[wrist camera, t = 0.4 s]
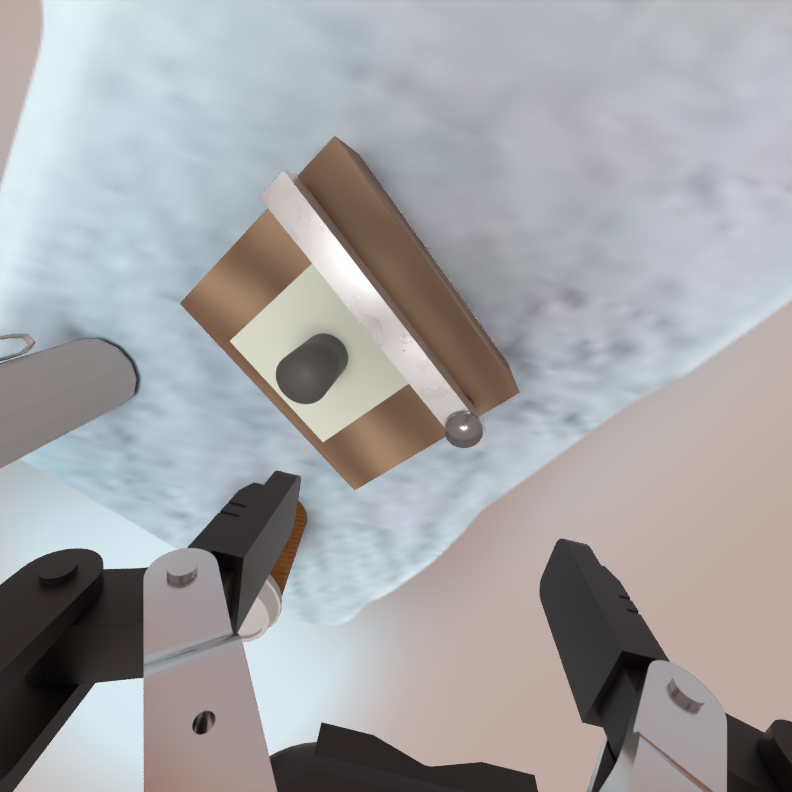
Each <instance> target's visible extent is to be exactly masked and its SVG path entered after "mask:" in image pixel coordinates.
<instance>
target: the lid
mask: <svg viewBox="0 0 792 792" xmlns="http://www.w3.org/2000/svg"><path fill="white" fill-rule="evenodd" d="M230 342H231V343H232V344H233V345H234V346H235V347H236V349H237V350H238V351H239V352H240V353H241V354H242V355H243V356H244V357H245V358H246V359H247V361H248V362H249V363H250V364H251V365H252V366H253V367H254V368H255V369H256V370H257V371H258V372H259V374H260V375H261V376H262V377H263V378H264V379H265V380H266V381H267V382H268V383H269V384H270V385H271V387H272V388H273V389H274V390H275V391H276V392H277V393H278V394H279V395H280V396H281V397H282V398H283V400H284V401H285V402H286V403H287V404H288V405H289V406H290V407H291V408H292V409H293V410H294V411H295V413H296V414H297V415H298V416H299V417H300V418H301V419H302V420H303V421H304V422H305V423H306V424H307V426H308V427H309V428H310V429H311V430H312V431H313V432H314V433H315V434H316V435H317V436H318V437H319V439H320V440H321V441H322V442H324V441H326V440H327V439H329V438H330V437H332V436H333V435H335V434H336V433H337V432H339V431H340V430H342V429H343V428H345V427H346V426H348V425H349V424H351V423H352V422H354V421H355V420H356V419H358V418H359V417H361V416H362V415H364V414H365V413H367V412H368V411H370V410H371V409H373V408H374V407H376V406H377V405H378V404H380V403H381V402H383V401H384V400H386V399H387V398H389V397H390V396H392V395H393V394H395V393H396V392H397V391H399V390H400V389H402V388H403V387H405V386H406V385H408V384H409V383H408V382H407V380H406V379H405V378H404V377H403V375H402V374H401V373H400V372H399V370H398V369H397V368H396V367H395V366H394V364H393V363H392V362H391V361H390V359H389V358H388V357H387V356H386V354H385V353H384V352H383V351H382V349H381V348H380V347H379V346H378V344H377V343H376V342H375V341H374V339H373V338H372V337H371V336H370V334H369V333H368V332H367V331H366V330H365V328H364V327H363V326H362V325H361V323H360V322H359V321H358V320H357V318H356V317H355V316H354V315H353V313H352V312H351V311H350V310H349V308H348V307H347V306H346V305H345V303H344V302H343V301H342V300H341V298H340V297H339V296H338V295H337V293H336V292H335V291H334V290H333V289H332V287H331V286H330V285H329V284H328V282H327V281H326V280H325V279H324V277H323V276H322V275H321V274H320V272H319V271H318V270H317V269H316V267H315V266H314V265H313V264H311V265H310V266H309V267H308V268H307V269H306V270H305V271H304V272H303V273H302V274H301V275H299V276H298V277H297V278H296V279H295V280H294V281H293V282H292V283H291V284H290V285H289V286H288V287H287V288H286V289H285V290H283V291H282V292H281V293H280V294H279V295H278V296H277V297H276V298H275V299H274V300H273V301H272V302H271V303H270V304H269V305H268V306H266V307H265V308H264V309H263V310H262V311H261V312H260V313H259V314H258V315H257V316H256V317H255V318H254V319H253V320H252V321H250V322H249V323H248V324H247V325H246V326H245V327H244V328H243V329H242V330H241V331H240V332H239V333H238V334H237V335H236V336H235V337H233V338H232V339H231V340H230Z"/></svg>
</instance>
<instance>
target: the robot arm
mask: <svg viewBox="0 0 792 792" xmlns="http://www.w3.org/2000/svg"><path fill="white" fill-rule="evenodd" d="M300 483H301V477H300V476H298V475H293V474H289V473H285V472H281V471H275V472H274V473H273V474H272V476H271V477H270V478H269V479H268V481H267V482H266V483H265V484H264V485H262V484H258V483H252V484H250V485H249V486H247V487H245V488H243V489H241V490H239V491H238V492H237V493H236V494H235V495H234V496H233V498H232V499H231V500H230V501H229V503H228V504H226V505H225V506H224V508H223V509H222V510H221V512H220V513H218V514H217V515H216V516H215V518H214V519H213V520H212V521H211V522H210V523H209V524H208V525H207V526H206V528H205V529H204V530H203V531H202V532H201V533H200V534H199V535H198V536H197V538H196V539H195V540H194V541H193V542H192V543H191V544H190V545H189V546H188V548H184V549H179V550H175V551H172V552H169V553H167V554H165V555H163V556H161V557H160V558H158V559H157V560H155V561H154V562H153V563H152V564H151V565H150V566H149V567H147V568H136V569H103V560H102V558H101V556H100V555H99V554H98V553H96V552H94V551H92V550H88V549H66V550H61V551H57V552H53V553H50V554H47V555H44V556H42V557H40V558H38V559H36V560H34V561H32V562H30V563H29V564H27V565H26V566H24V567H23V568H21V569H20V570H19V571H18V572H16V573H15V574H14V575H12V576H11V577H10V578H8V579H7V580H6V581H5V582H3V583H2V584H1V585H0V792H13V791H14V789H15V788H16V787H17V785H18V784H19V783H20V782H21V780H22V779H23V778H24V776H25V775H26V774H27V772H28V771H29V770H30V768H31V767H32V766H33V764H34V763H35V762H36V760H37V759H38V758H39V756H40V755H41V754H42V753H43V751H44V750H45V748H46V747H47V745H49V743H50V742H51V741H52V739H53V738H54V737H55V735H56V734H57V733H58V731H59V730H60V729H61V727H62V726H63V725H64V724H65V722H66V721H67V720H68V718H69V717H70V716H71V714H72V713H73V712H74V710H75V709H76V708H77V706H78V705H79V704H80V702H81V701H82V700H83V699H84V697H85V696H86V695H87V693H88V692H89V691H90V689H91V688H92V686H93V685H94V684H95V683H97V682H106V681H116V680H126V679H135V678H144V792H538V790H537V785H536V780H535V775H531V774H527V773H523V772H519V771H515V770H511V769H507V768H503V767H499V766H495V765H491V764H487V763H483V762H479V763H467V764H456V765H445V766H434V767H429V766H425V765H423V764H421V763H419V762H418V761H416V760H414V759H413V758H411V757H409V756H408V755H406V754H404V753H403V752H401V751H399V750H398V749H396V748H394V747H392V746H391V745H389V744H387V743H386V742H384V741H382V740H381V739H379V738H377V737H375V736H374V735H370V734H366V733H362V732H358V731H354V730H350V729H346V728H342V727H338V726H334V725H330V724H326V723H321V727H320V732H319V736H318V740H317V742H313V743H304V744H300V745H296V746H292V747H289V748H286V749H284V750H281V751H279V752H277V753H275V754H273V755H271V756H269V754H268V749H267V745H266V741H265V737H264V732H263V728H262V724H261V719H260V715H259V711H258V706H257V702H256V698H255V694H254V689H253V685H252V681H251V676H250V672H249V668H248V664H247V660H246V655H245V651H244V647H243V643H242V639H241V637H240V635H239V634H238V631H239V629H240V627H241V626H242V624H243V622H244V620H245V618H246V616H247V614H248V613H249V611H250V609H251V607H252V605H253V603H254V602H255V600H256V598H257V596H258V594H259V592H260V591H261V589H262V587H263V585H264V583H265V581H266V580H267V578H268V576H269V574H270V572H271V570H272V568H273V567H274V565H275V563H276V561H277V559H278V557H279V556H280V554H281V552H282V550H283V548H284V546H285V545H286V543H287V541H288V539H289V537H290V534H291V532H292V529H293V525H294V522H295V516H296V510H297V503H298V496H299V490H300ZM540 599H541V602H542V605H543V608H544V611H545V614H546V617H547V620H548V623H549V626H550V629H551V632H552V635H553V638H554V640H555V643H556V646H557V649H558V652H559V655H560V658H561V661H562V664H563V667H564V670H565V673H566V676H567V679H568V682H569V685H570V688H571V690H572V693H573V696H574V699H575V702H576V705H577V708H578V711H579V714H580V717H581V720H582V722H583V723H587V724H591V725H595V726H599V727H603V728H604V731H605V733H606V735H607V737H606V739H605V740H604V742H603V744H602V746H601V749H600V752H599V755H598V758H597V761H596V764H595V768H594V771H593V774H592V777H591V780H590V783H589V787H588V790H587V792H792V722H790V721H787V720H775V721H774V722H773V723H772V724H771V726H770V727H769V728H768V729H767V731H766V732H765V733H764V732H762V731H760V730H758V729H756V728H754V727H752V726H750V725H748V724H746V723H744V722H742V721H740V720H738V719H736V718H734V717H732V716H730V715H728V714H726V713H725V712H724V710H723V708H722V706H721V704H720V703H719V701H718V700H717V699H716V697H715V696H714V695H713V693H712V692H711V691H710V690H709V689H708V688H707V687H706V686H705V685H704V684H703V683H702V682H701V681H700V680H698V679H697V678H696V677H695V676H694V675H692V674H691V673H689V672H688V671H686V670H685V669H683V668H682V667H680V666H678V665H676V664H673V663H671V662H670V661H669V660H668V658H667V656H666V655H665V653H664V652H663V650H662V648H661V647H660V645H659V644H658V642H657V640H656V639H655V637H654V636H653V634H652V633H651V631H650V629H649V627H648V626H647V624H646V623H645V621H644V619H643V618H642V616H641V615H639V614H638V610H637V608H636V607H635V605H634V603H633V602H632V601H630V597H629V595H628V594H627V592H626V591H625V589H624V587H623V586H622V584H621V582H620V581H619V580H618V579H617V578H616V577H615V576H614V575H613V574H612V573H611V572H610V571H609V570H608V569H607V568H606V567H604V566H601V565H600V563H599V561H598V560H597V558H596V556H595V555H594V553H593V551H592V550H591V548H590V547H589V546H588V545H587V544H583V543H579V542H574V541H570V540H566V539H559V540H558V541H557V543H556V545H555V547H554V549H553V552H552V554H551V556H550V559H549V561H548V563H547V566H546V568H545V570H544V573H543V575H542V578H541V582H540Z"/></svg>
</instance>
